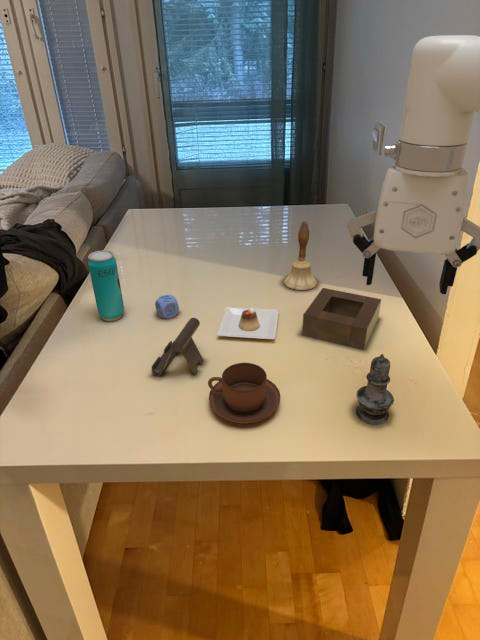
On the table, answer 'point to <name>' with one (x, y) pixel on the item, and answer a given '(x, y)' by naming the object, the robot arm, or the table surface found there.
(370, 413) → the chess piece
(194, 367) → the tablet stand
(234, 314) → the dessert
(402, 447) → the table surface
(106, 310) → the beverage can
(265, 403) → the cup and saucer
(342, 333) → the holder
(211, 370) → the table surface
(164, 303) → the decorative dice
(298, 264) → the hand bell
